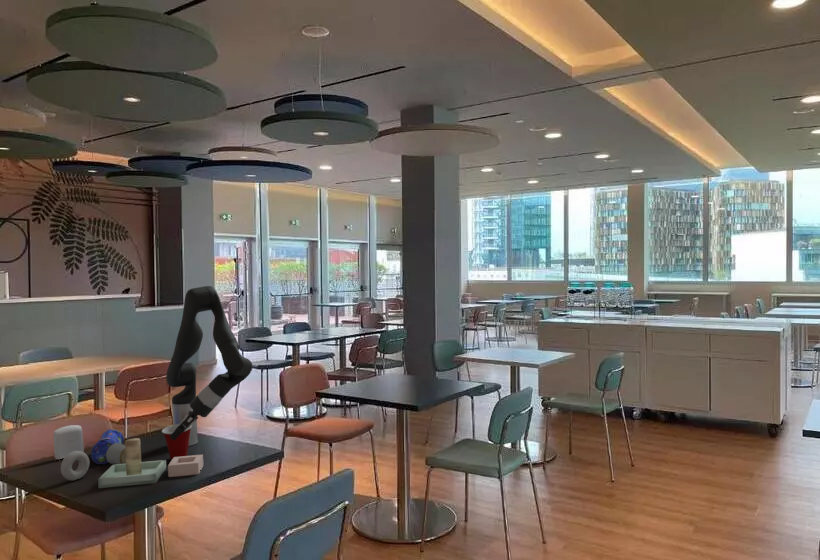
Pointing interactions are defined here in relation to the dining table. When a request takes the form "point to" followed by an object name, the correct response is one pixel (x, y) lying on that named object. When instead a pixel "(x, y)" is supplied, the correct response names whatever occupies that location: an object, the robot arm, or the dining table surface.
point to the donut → (69, 460)
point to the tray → (119, 477)
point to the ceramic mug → (116, 454)
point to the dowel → (133, 457)
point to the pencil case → (105, 445)
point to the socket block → (185, 465)
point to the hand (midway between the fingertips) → (174, 435)
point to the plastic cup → (177, 441)
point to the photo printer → (67, 440)
